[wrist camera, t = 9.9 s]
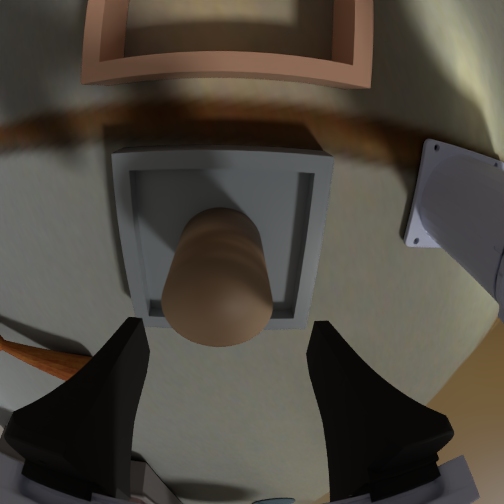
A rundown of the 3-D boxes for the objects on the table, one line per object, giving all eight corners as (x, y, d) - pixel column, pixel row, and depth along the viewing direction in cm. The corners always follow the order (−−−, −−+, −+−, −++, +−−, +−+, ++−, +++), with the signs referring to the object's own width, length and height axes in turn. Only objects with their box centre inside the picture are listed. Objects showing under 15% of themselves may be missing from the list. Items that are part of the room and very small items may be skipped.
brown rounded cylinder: (264, 208, 17) (278, 260, 12) (258, 280, 20) (268, 346, 14) (178, 206, 17) (154, 258, 12) (182, 279, 19) (168, 344, 14)
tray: (324, 150, 17) (334, 156, 15) (300, 311, 23) (305, 328, 21) (123, 147, 16) (111, 153, 14) (143, 308, 22) (137, 326, 20)
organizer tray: (83, 486, 53) (78, 513, 44) (3, 416, 34) (-12, 455, 25) (190, 505, 55) (190, 535, 46) (150, 453, 36) (144, 508, 27)
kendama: (89, 410, 23) (-54, 352, 18) (98, 361, 27) (-37, 314, 22) (80, 389, 19) (-75, 322, 14) (94, 332, 24) (-53, 281, 19)
